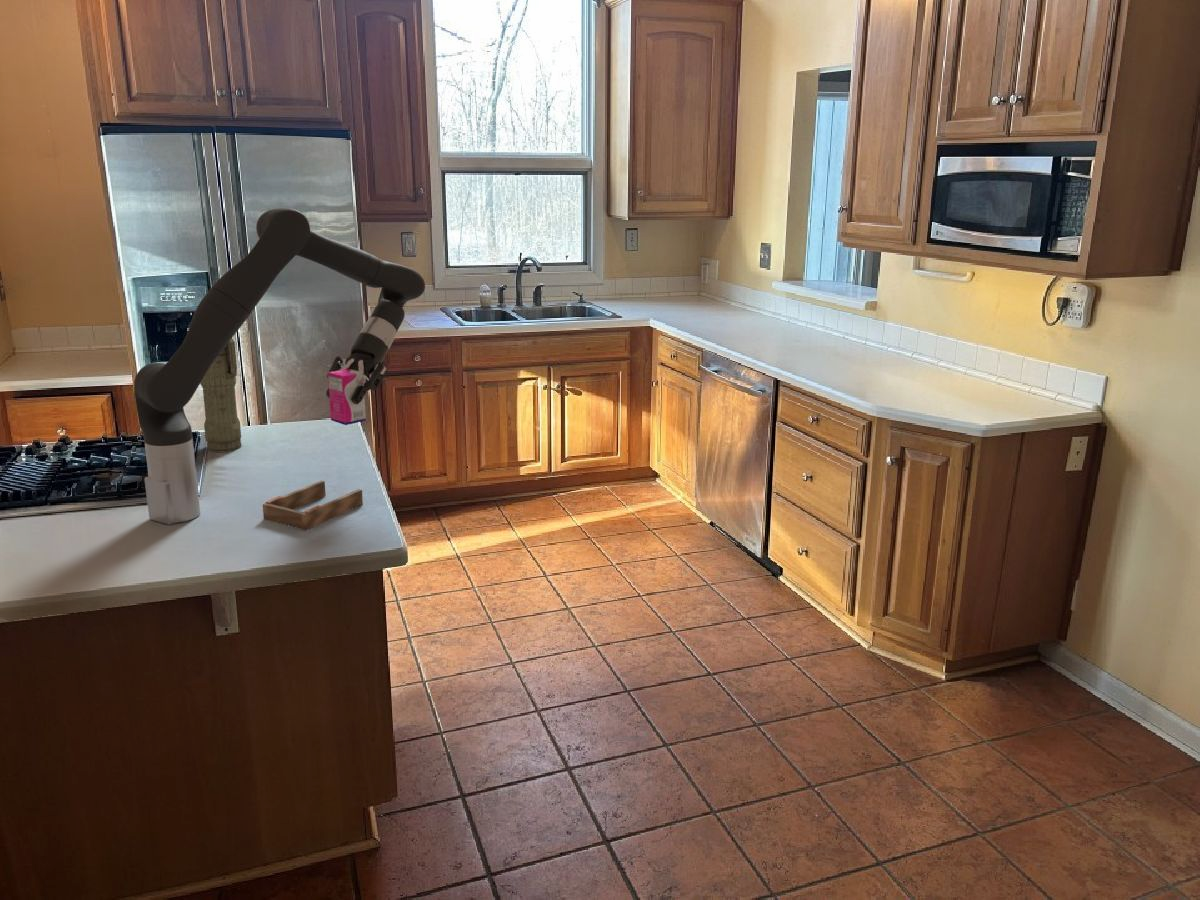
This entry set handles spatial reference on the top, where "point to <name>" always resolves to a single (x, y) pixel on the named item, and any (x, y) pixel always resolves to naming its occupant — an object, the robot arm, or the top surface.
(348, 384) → the supplement box
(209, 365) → the robot arm
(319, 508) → the channel
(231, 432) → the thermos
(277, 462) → the top surface
